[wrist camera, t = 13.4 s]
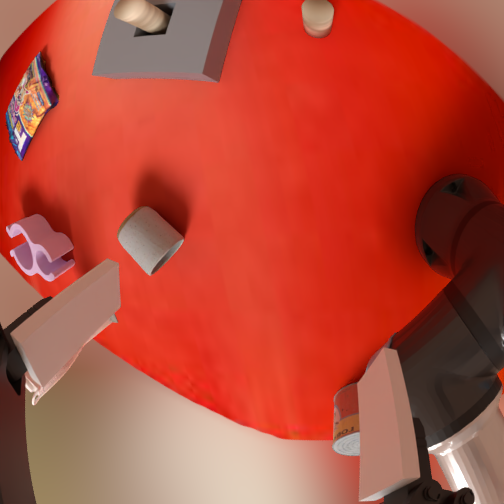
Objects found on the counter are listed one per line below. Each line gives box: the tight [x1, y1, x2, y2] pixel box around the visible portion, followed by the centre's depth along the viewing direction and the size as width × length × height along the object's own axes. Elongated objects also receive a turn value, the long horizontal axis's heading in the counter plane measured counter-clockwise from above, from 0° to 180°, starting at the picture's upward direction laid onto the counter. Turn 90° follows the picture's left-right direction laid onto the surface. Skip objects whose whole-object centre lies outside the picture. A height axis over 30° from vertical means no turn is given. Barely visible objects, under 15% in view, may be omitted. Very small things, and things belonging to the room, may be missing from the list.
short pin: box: [302, 0, 334, 38], centre depth 23 cm, size 4×4×6 cm
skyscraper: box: [25, 314, 118, 405], centre depth 41 cm, size 8×8×28 cm
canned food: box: [332, 382, 360, 456], centre depth 43 cm, size 11×11×12 cm
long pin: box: [114, 0, 171, 35], centre depth 23 cm, size 4×4×12 cm
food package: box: [6, 51, 59, 161], centre depth 36 cm, size 22×25×4 cm
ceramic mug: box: [117, 206, 184, 275], centre depth 39 cm, size 11×8×8 cm
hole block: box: [92, 0, 242, 82], centre depth 26 cm, size 18×16×6 cm
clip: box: [6, 214, 75, 281], centre depth 47 cm, size 20×12×7 cm, turn 77°
